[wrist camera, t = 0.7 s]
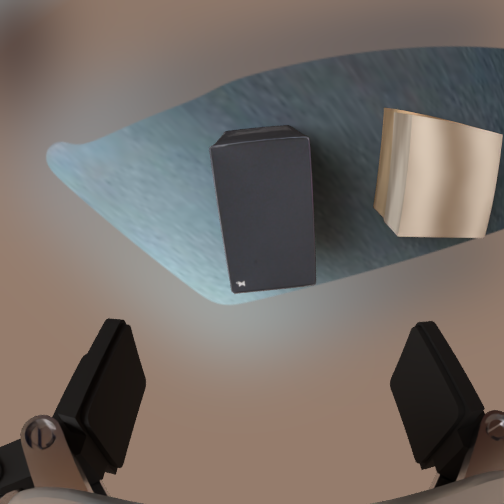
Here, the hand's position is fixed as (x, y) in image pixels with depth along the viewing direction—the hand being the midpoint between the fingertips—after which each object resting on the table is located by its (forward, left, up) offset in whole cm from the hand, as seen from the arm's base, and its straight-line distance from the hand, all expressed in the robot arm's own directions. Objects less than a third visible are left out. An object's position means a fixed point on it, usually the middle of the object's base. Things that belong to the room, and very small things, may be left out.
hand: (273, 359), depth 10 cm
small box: (0, 0, -22) cm, 22 cm away
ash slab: (-16, -3, -19) cm, 25 cm away
